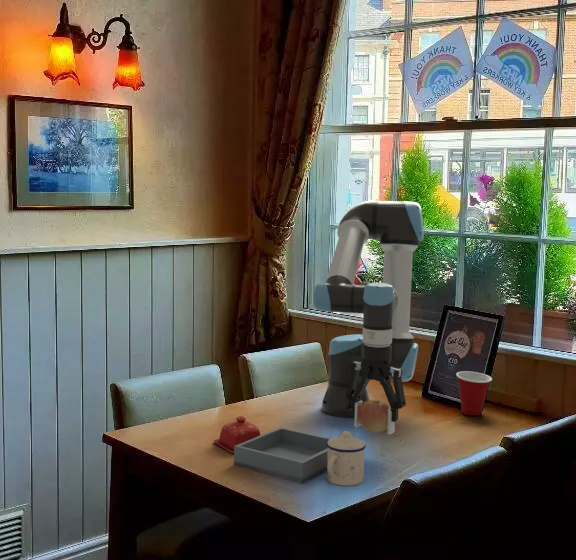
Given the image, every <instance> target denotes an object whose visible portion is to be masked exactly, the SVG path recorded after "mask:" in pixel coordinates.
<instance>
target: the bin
mask: <svg viewBox="0 0 576 560" xmlns="http://www.w3.org/2000/svg"><path fill="white" fill-rule="evenodd" d="M331 438H332V437H327V436H323V435H317V434H313V433H309V432H304V431H300V430H296V429H291V428H286V427H283V426H282V427H281V426H280V427H278V428H275V429H273V430H271V431H268V432H265V433H263V434H260V436H258V437H255V438H253V439H251V440H248V441H246V442H243V443H241V444H238V445H236V446H234V453H233V465H234V466H237V467H242V468H245V469H248V470H251V471H254V472H257V473H260V474H261V473H262V474H265V475H270V476H272V477H276V478H279V479H283V480H286V481H291V482H293V483H297V484H301V485H304V484H305V483H307V482H308V481H311V480H313V479H315V478H317V477H318V476H320V475H322V474H324V473H327V455H328V447H327V442H328V440H329V439H331Z"/></svg>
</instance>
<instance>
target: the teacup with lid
mask: <svg viewBox="0 0 576 560" xmlns="http://www.w3.org/2000/svg"><path fill="white" fill-rule="evenodd" d="M330 438H331V439H329V440H328V442H327V447H328V455H327V471H326V479H327V481H328V482H329V483H331V484H333V485H337V486H340V487H353V486H358V485H360V484H361V483H363V481H364V476H365V473H364V471H365V449H366V447H367V446H366V443H365V442H364V440H363V439H360V438H359V437H356V436H354V435H352V433H351V431H348V430H344V431H343V432H342V433H341V434H339V435H337V436H335V437H330Z"/></svg>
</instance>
